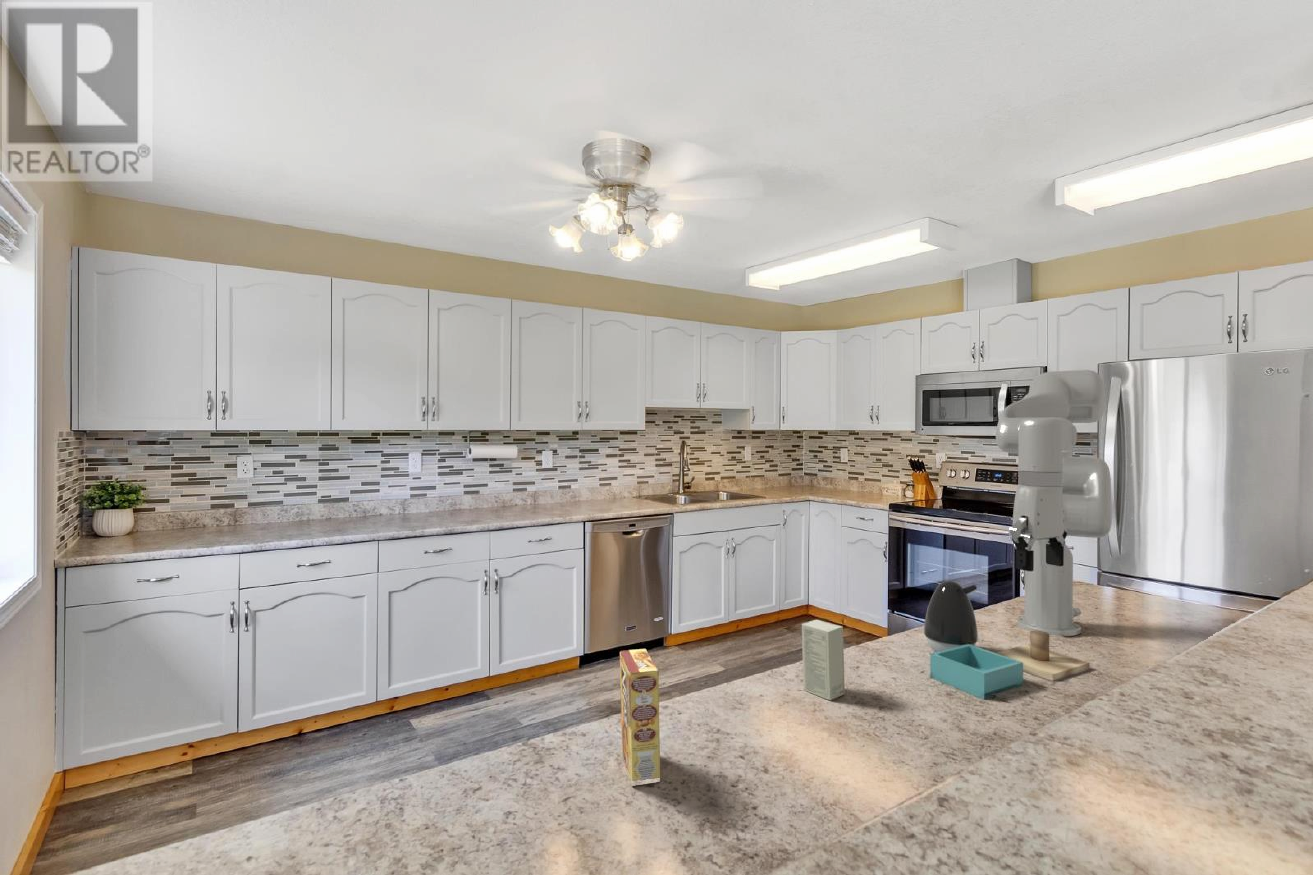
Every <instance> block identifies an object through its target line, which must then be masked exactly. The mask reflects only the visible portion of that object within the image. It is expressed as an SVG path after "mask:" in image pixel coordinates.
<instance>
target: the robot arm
mask: <svg viewBox="0 0 1313 875" xmlns="http://www.w3.org/2000/svg"><path fill="white" fill-rule="evenodd" d="M1105 388H1106V387H1105V383H1104V380H1103V378H1102V377H1101V375H1100V374H1099V373H1097V371H1094V370H1092V369H1091V370H1090V369H1082V370H1077V369H1076V370H1055V371H1047V372H1042V373H1040V374H1038V375H1037V376H1036V377H1034V378H1033V379H1032V381H1031V383H1030V385H1029V390H1028V393H1027V394H1025V395H1024V396H1023V398H1022V399H1020V400H1018V401H1015V402H1013V403H1010V404H1009V405H1007V406H1006V407H1005V408H1004V409H1003V410H1002V411H1001V413H1000V416H999V419H998V422H997V426H996V428H995V429H996V431H995V441H996V444H997V447H998V448H999V450H1001V451H1002V452H1005V453H1008V454H1017V461H1018V463H1017V465H1018V466H1017V468H1018V471H1017V473H1018V474H1017V477H1018V478H1017V479H1018V481H1017V482H1018V483H1017V484H1018V485H1017V487H1016V491H1015V496H1014V502H1013V509H1012V510H1013V511H1012V512H1013V514H1012V525H1011V526H1010V527H1009V533H1010V535H1011V541H1012V543H1013V548H1014V549H1015V569H1016V570H1020V571H1024V615H1022V616H1019V617H1018V618H1017V619H1016V621H1017V622H1016V623H1017V625H1018V626H1019V627H1020V628H1023V629H1025V630H1027V631H1029V632H1030V631H1033V630H1037V631H1044V632H1047V633H1049V636H1060V637H1073V636H1077V635H1080V634H1081V632H1082V628H1081V626H1080V625H1079V624H1077V623H1076V622H1074V618H1075V617H1079V616H1080V615H1081V614H1082V612H1081V609H1080V608H1078V607H1074V605H1073V604H1074V598H1073V597H1074V558H1073V557H1074V556H1073V554H1072V551H1071V549H1070V548H1069V547H1068V545H1066V538H1067V536H1068V537H1078V538H1094V539H1095V538H1098V539H1099V538H1105V537H1106V536H1107V535H1108V534H1109V533H1110V531H1111V528H1112V520H1113V516H1112V515H1113V514H1112V512H1113V511H1112V481H1111V480H1112V479H1111V471H1110V468H1109V465H1108V464H1107V462H1106V461H1105V460H1103V459H1102V458H1099V457H1092V456H1073V447H1074V446H1076V444H1077V442H1078V441H1077V440H1078V430H1077V427H1076V426H1075V425H1074V424H1090V423H1091V424H1092V423H1096V422H1099V421H1100V420H1101V419H1102V418H1103V416H1104V414H1105V408H1106V389H1105Z"/></svg>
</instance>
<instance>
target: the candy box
mask: <svg viewBox="0 0 1313 875" xmlns="http://www.w3.org/2000/svg"><path fill="white" fill-rule="evenodd" d="M619 680H620V682H619V684H620V686H619V687H620V725H621V755H622V754H623V756H622V758H623V757H624V759H623V761H624V760H625V763H624V765H625V764H626V766H625V768H626V767H627V769H626V771H627V770H628V772H627V774H628V773H629V775H630V778H631V780H632V781H637V780H646V779H655V778H660V779H661V755H660V754H661V747H660V743H661V742H660V737H661V736H660V693H659V692H660V691H659V690H660V686H659V685H660V684H659V669H658V667H657V666H656V664H655V662H654V661H653V658H651V655H650V654H649V652H648V651H647V649H646V648H639V649H637V648H636V649H628V650H621V651H619Z"/></svg>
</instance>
